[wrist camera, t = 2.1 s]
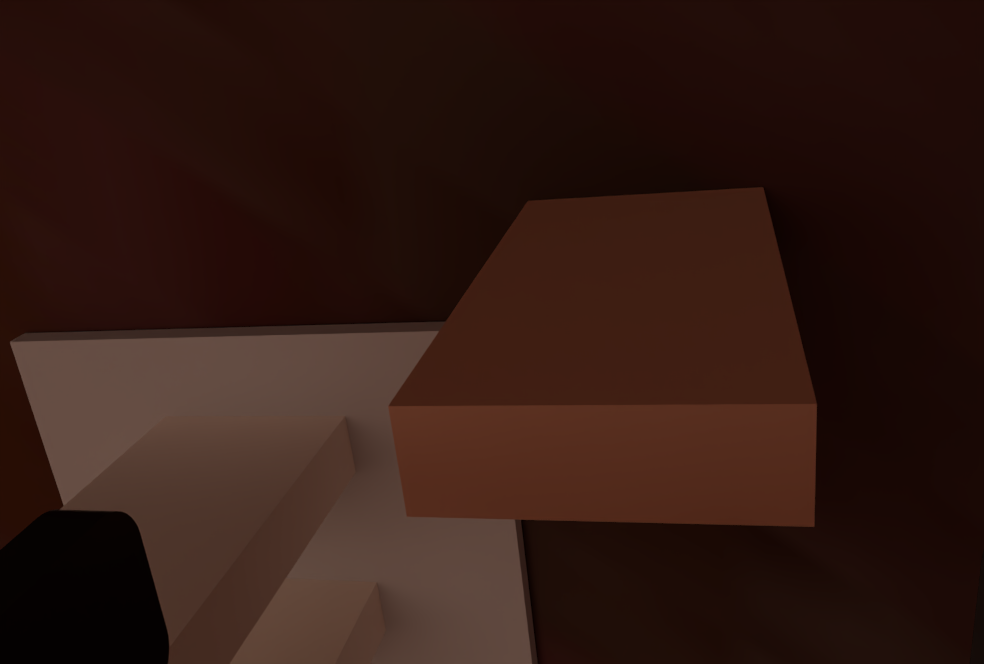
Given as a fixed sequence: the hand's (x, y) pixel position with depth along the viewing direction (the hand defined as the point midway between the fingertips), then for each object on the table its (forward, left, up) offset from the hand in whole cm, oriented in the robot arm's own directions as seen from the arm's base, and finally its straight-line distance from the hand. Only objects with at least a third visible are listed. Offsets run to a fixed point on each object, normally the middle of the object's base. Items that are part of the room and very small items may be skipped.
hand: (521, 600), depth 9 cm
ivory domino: (+10, +5, -12) cm, 16 cm away
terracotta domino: (0, 0, -13) cm, 13 cm away
